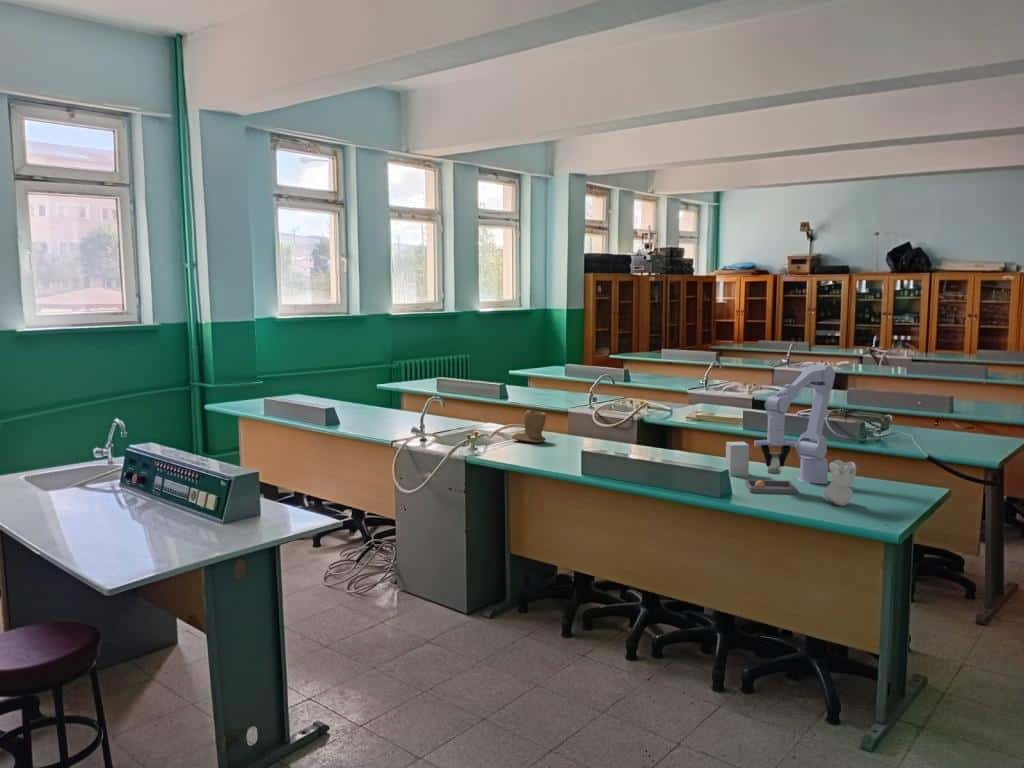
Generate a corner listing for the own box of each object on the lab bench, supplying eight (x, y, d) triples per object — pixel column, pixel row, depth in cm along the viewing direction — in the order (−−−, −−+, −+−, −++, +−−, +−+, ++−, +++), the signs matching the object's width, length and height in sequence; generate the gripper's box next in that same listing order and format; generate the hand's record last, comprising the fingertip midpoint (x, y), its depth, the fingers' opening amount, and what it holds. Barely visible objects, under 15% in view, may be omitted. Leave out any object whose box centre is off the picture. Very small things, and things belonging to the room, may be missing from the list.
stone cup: (551, 441, 377) (551, 410, 375) (536, 445, 367) (536, 413, 365) (525, 437, 386) (525, 407, 384) (511, 441, 376) (510, 410, 374)
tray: (790, 486, 290) (790, 480, 290) (796, 495, 279) (797, 489, 278) (745, 485, 293) (745, 479, 293) (750, 494, 281) (750, 488, 281)
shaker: (779, 471, 288) (779, 452, 287) (782, 474, 284) (783, 455, 283) (766, 471, 289) (767, 452, 288) (769, 474, 284) (769, 455, 283)
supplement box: (748, 477, 305) (749, 445, 303) (729, 477, 305) (730, 445, 303) (743, 472, 312) (744, 441, 311) (724, 472, 312) (725, 441, 311)
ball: (764, 488, 286) (764, 479, 285) (765, 491, 282) (766, 482, 282) (754, 488, 286) (754, 479, 286) (755, 491, 283) (755, 481, 282)
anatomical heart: (847, 500, 272) (849, 457, 270) (862, 509, 261) (864, 465, 259) (819, 500, 272) (821, 458, 270) (833, 510, 260) (835, 466, 259)
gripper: (756, 430, 281) (755, 468, 283) (799, 431, 279) (797, 469, 280) (753, 427, 288) (752, 463, 290) (795, 427, 286) (794, 464, 287)
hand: (774, 465), depth 285 cm, fingers closed on shaker, 4 cm apart
